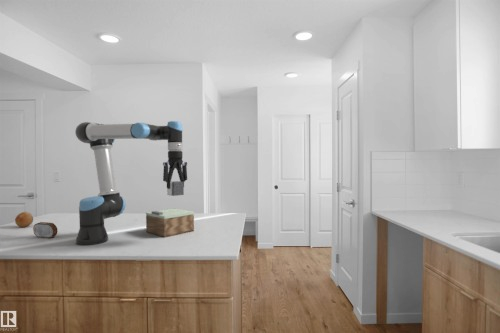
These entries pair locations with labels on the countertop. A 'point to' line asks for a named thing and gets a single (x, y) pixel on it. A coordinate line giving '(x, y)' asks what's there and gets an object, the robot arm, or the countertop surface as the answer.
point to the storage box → (169, 225)
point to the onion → (24, 219)
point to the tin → (45, 230)
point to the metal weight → (177, 188)
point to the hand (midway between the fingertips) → (175, 194)
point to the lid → (169, 213)
